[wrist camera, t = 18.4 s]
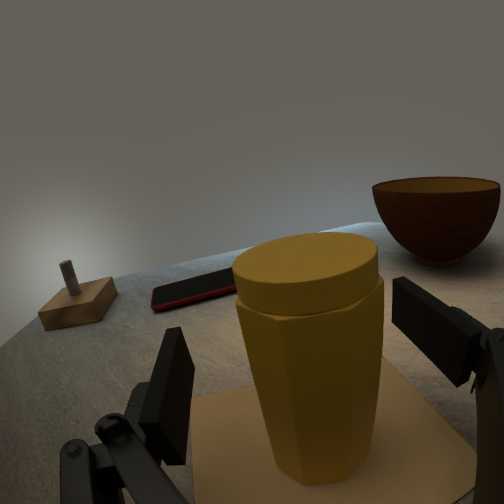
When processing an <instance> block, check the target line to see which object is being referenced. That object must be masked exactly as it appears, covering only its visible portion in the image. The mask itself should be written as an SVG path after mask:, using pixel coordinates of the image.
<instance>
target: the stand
mask: <svg viewBox="0 0 504 504" xmlns="http://www.w3.org/2000/svg"><path fill="white" fill-rule="evenodd" d="M59 266H60V269H61V272H62V274H63V278H64V281H65V283H66V286H67V287H65V288H63V289H61V290H60V291H59V292H58V293H57V294H56V295H55V296H54V297H53V298H52V299H51V300H50V301H49V302H48V303H47V304H46V305H45V306H44V307H42V308H41V310H39V311H38V315H39V317H40V319H41V322H42V324H43V326H44V328H45V330H52V329H58V328H64V327H69V326H75V325H81V324H86V323H92V322H97V321H100V320H101V319H102V317H103V315H104V314H105V312H106V311H107V309H108V307H109V306H110V304H111V303H112V301H113V300H114V298H115V296H116V295H117V290H116V287H115V284H114V281H113V278H112V277H107V278H103V279H99V280H95V281H90V282H86V283H82V284H78V281H77V278H76V275H75V272H74V269H73V265H72V262H71V260H67V261H64V262H62V263H60V264H59Z"/></svg>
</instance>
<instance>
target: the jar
mask: <svg viewBox="0 0 504 504" xmlns="http://www.w3.org/2000/svg"><path fill="white" fill-rule="evenodd" d="M232 270H233V275H234V279H235V284H236V288H237V293H238V296H237V300H236V309H237V313H238V317H239V321H240V326H241V330H242V334H243V338H244V342H245V346H246V351H247V355H248V359H249V363H250V367H251V371H252V375H253V379H254V383H255V387H256V391H257V395H258V399H259V402H260V406H261V410H262V414H263V418H264V422H265V425H266V429H267V433H268V437H269V440H270V444H271V448H272V451H273V455H274V458H275V462H276V466H277V467H278V468H279V469H280V470H282V471H283V472H285V473H286V474H288V475H289V476H291V477H292V478H293V479H295V480H296V481H298V482H300V483H301V484H303V485H305V486H310V485H318V484H325V483H332V482H338V481H344V480H346V479H347V478H348V477H349V476H350V475H351V474H352V473H353V472H354V471H355V470H356V468H357V467H358V466H359V465H360V464H361V463H362V462H363V460H364V459H365V458H366V457H367V456H368V455H369V450H370V445H371V439H372V434H373V428H374V421H375V415H376V408H377V400H378V392H379V382H380V372H381V360H382V345H383V324H384V280H383V279H382V277H381V276H380V275H379V274H378V249H377V246H376V244H375V243H374V242H373V241H372V240H371V239H369V238H367V237H364V236H361V235H356V234H351V233H341V232H321V233H309V234H301V235H295V236H290V237H285V238H280V239H276V240H273V241H269V242H267V243H263V244H261V245H258V246H256V247H253V248H251V249H249V250H247V251H245V252H244V253H242V254H241V255H240V256H238V257H237V258H236V259H235V261H234V262H233V265H232Z"/></svg>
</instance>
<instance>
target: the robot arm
mask: <svg viewBox="0 0 504 504" xmlns="http://www.w3.org/2000/svg"><path fill="white" fill-rule="evenodd" d="M392 323H393V324H394V325H395V326H397V327H398V328H399V329H400V330H401V331H402V332H403V333H404V334H405V335H406V336H407V337H408V338H409V339H410V340H411V341H412V342H413V343H414V344H415V345H416V346H417V347H418V348H419V349H420V350H421V351H422V352H423V353H424V354H425V355H426V356H427V357H428V358H429V359H430V360H431V361H432V362H433V363H434V364H435V365H436V366H437V367H438V368H439V369H440V371H441V372H442V373H443V374H444V375H445V376H446V377H447V378H448V379H449V380H450V381H451V382H452V383H453V384H454V385H455V386H456V387H459V386H460V385H462V384H464V383H466V382H467V381H469V378H470V375H471V372H472V371H473V372H474V373H475V374H476V376H475V379H474V382H473V385H472V388H471V392H470V393H473V390H474V388H475V393H476V406H477V467H476V480H475V490H474V498H473V504H504V329H503V328H493V329H491V330H490V329H489V328H487V327H486V326H485V325H483V324H482V323H480V322H479V321H478V320H476V319H475V318H473V317H472V316H470V315H468V314H467V313H466V312H465V311H463V310H462V309H459V308H456V307H453V306H451V307H449V306H448V305H446V304H445V303H443V302H442V301H440V300H439V299H437V298H436V297H434V296H433V295H431V294H430V293H428V292H427V291H425V290H424V289H422V288H421V287H419V286H418V285H416V284H415V283H413V282H412V281H410V280H409V279H407V278H406V277H404V276H402V277H399V278H396V279H393V289H392ZM194 372H195V367H194V364H193V361H192V359H191V356H190V353H189V350H188V347H187V344H186V342H185V339H184V336H183V333H182V330H181V327H175V328H169V329H166V332H165V335H164V338H163V341H162V344H161V347H160V350H159V354H158V357H157V360H156V363H155V366H154V369H153V373H152V376H151V379H150V382H142V383H138V385H137V386H136V387H135V388H134V389H133V390H132V393H131V396H130V400H129V401H128V404H127V406H128V407H126V410H125V413H124V415H122V414H119V413H111V414H108V415H105V416H104V417H102V418H100V419H99V421H98V422H97V423H96V425H95V433H96V435H97V436H98V437H99V439H100V440H101V441H102V442H103V443H101V444H97V445H92V446H88V444H87V443H86V442H85V441H84V440H81V439H73V440H70V441H68V442H67V443H65V444H64V445H63V447H62V448H61V452H60V502H61V504H125V501H124V497H123V492H122V488H124V487H126V488H127V489H128V491H129V493H130V495H131V496H132V498H133V500H134V501H135V503H136V504H190V503H189V502H188V501H187V500H186V499H185V498H184V496H183V495H182V494H181V493H180V491H179V490H178V489H177V488H176V486H175V485H174V484H173V482H172V481H171V480H170V478H169V477H168V476H167V474H166V473H165V472H164V470H163V469H162V468H161V467H160V466H161V460H162V459H163V461H164V462H165V463H166V465H185V463H186V450H187V439H188V428H189V418H190V408H191V399H192V389H193V381H194Z"/></svg>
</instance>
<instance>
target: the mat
mask: <svg viewBox="0 0 504 504" xmlns="http://www.w3.org/2000/svg"><path fill="white" fill-rule="evenodd" d="M190 414H191V445H192V465H193V481H194V495H195V504H453V503H455V502H456V501H457V500H459V499H460V498H461V497H463V496H464V495H465V494H467V493H468V492H469V491H470V490H472V489H473V488H474V487H475V480H476V467H477V453H476V452H475V451H474V449H473V448H472V447H471V446H470V445H469V444H468V443H467V442H466V441H465V440H464V439H463V438H462V437H461V436H460V435H459V434H458V433H457V432H456V430H455V429H454V428H453V427H452V426H451V425H450V424H449V423H448V422H447V421H446V420H445V419H444V418H443V417H442V416H441V415H440V414H439V413H438V412H437V411H436V410H435V409H434V408H433V407H432V406H431V404H430V403H429V402H428V401H427V400H426V399H425V398H424V397H423V396H422V395H421V394H420V393H419V392H418V391H417V390H416V389H415V388H414V387H413V386H412V385H411V384H410V383H409V382H408V381H407V380H406V379H405V378H404V377H403V376H402V375H401V374H400V373H399V372H398V371H397V370H396V369H395V368H394V367H393V366H392V365H391V364H390V363H389V362H388V361H387V360H386V359H385V358H384V357H383V356H382V360H381V372H380V382H379V392H378V400H377V408H376V415H375V421H374V428H373V434H372V439H371V445H370V450H369V455H368V456H367V457H366V458H365V459H364V460H363V462H362V463H361V464H360V465H359V466H358V467H357V468H356V470H355V471H354V472H353V473H352V474H351V475H350V476H349V477H348V478H347V479H346V480H344V481H338V482H332V483H325V484H318V485H310V486H305V485H303V484H301V483H300V482H298V481H296V480H295V479H293V478H292V477H291V476H289V475H288V474H286V473H285V472H283V471H282V470H280V469H279V468H278V467H277V466H276V462H275V458H274V455H273V451H272V448H271V444H270V440H269V437H268V433H267V429H266V425H265V422H264V418H263V414H262V410H261V406H260V402H259V399H258V395H257V391H256V387H255V385H251V386H247V387H243V388H238V389H234V390H230V391H225V392H220V393H215V394H210V395H205V396H200V397H194V398H192V399H191V408H190Z"/></svg>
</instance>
